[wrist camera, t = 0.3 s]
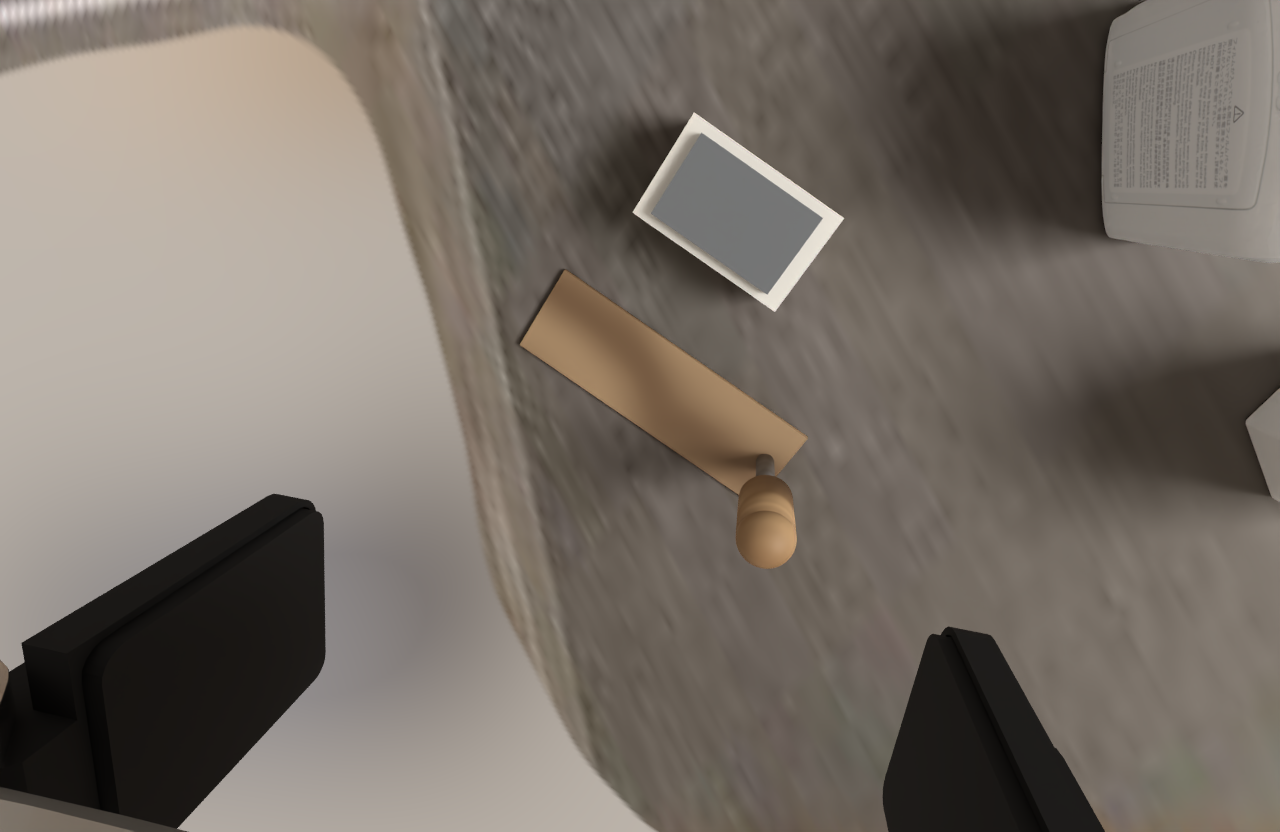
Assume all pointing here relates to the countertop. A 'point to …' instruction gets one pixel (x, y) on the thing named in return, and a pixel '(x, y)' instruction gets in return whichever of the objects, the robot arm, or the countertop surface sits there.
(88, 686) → the robot arm
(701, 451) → the strip
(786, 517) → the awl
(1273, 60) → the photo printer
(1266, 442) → the jar
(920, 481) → the countertop surface
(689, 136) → the white and grey block
